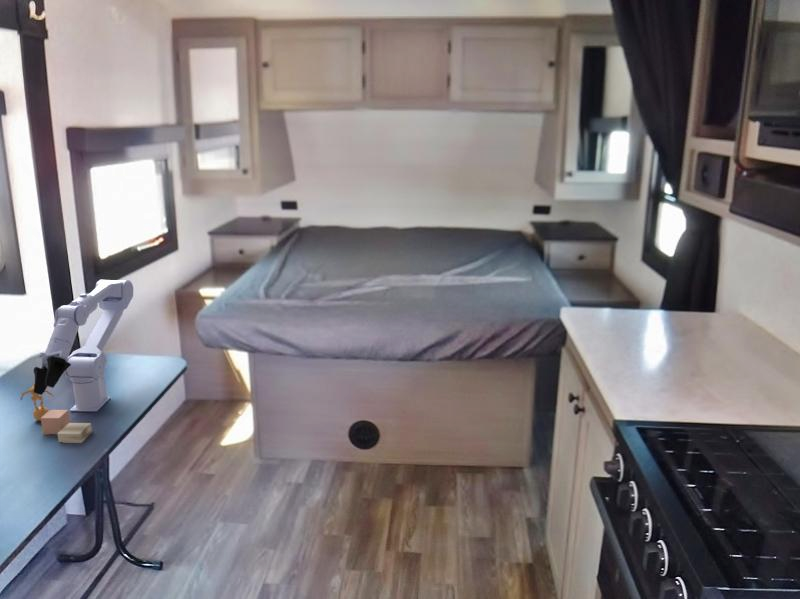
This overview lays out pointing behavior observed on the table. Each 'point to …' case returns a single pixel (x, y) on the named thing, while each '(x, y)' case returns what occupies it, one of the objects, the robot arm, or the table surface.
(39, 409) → the figurine
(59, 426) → the terracotta cube
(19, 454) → the table surface
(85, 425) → the birch base block
